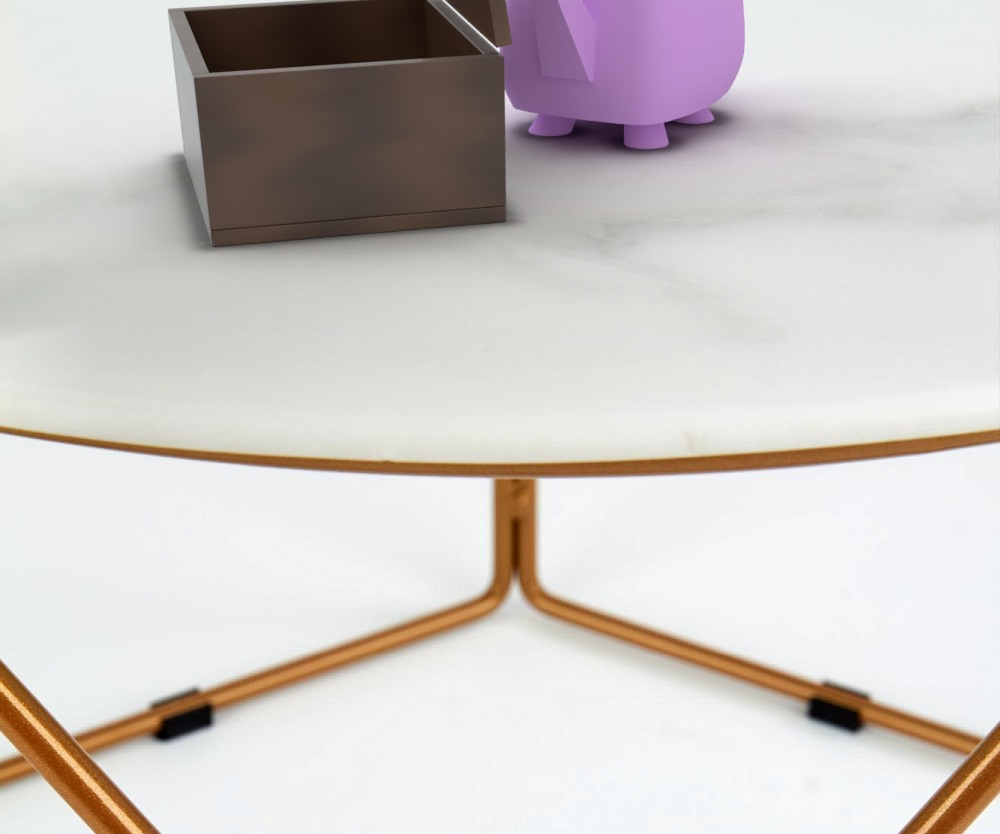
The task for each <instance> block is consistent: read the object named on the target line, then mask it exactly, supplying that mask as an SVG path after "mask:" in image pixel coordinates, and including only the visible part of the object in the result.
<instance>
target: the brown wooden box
mask: <svg viewBox="0 0 1000 834" xmlns="http://www.w3.org/2000/svg"><path fill="white" fill-rule="evenodd" d="M167 17H168V18H167V19H168V25H169V34H170V35H169V36H170V43H171V51H172V60H173V61H172V62H173V69H174V78H175V86H176V95H177V103H178V104H177V105H178V113H179V121H180V131H181V139H182V147H183V157H184V160H185V163H186V166H187V169H188V172H189V176H190V179H191V182H192V185H193V189H194V192H195V195H196V199H197V202H198V205H199V209H200V211H201V215H202V218H203V221H204V225H205V228H206V231H207V234H208V238H209V241H210V244H211V246H212V248H214V247H226V246H239V245H250V244H261V243H273V242H274V243H275V242H284V241H285V242H286V241H297V240H307V239H319V238H320V239H321V238H330V237H331V238H332V237H342V236H343V237H345V236H355V235H367V234H377V233H389V232H391V233H392V232H402V231H413V230H424V229H425V230H427V229H435V228H447V227H448V228H449V227H459V226H461V227H462V226H470V225H481V224H482V225H483V224H494V223H505V222H506V221H507V206H506V205H507V169H506V168H507V163H506V162H507V161H506V156H507V155H506V91H505V71H504V56H503V55H501V54H500V53H499V52H500V51H498V50H497V48H496V47H495V46H494V45H492V44H491V43H490V42H489V41H488V40H487V39H486V38H485V37H484V36H483V35H482V34H481V33H479V32H478V31H477V30H476V29H475V28H474V27H473V26H472V25H471V24H470V23H469V22H468V21H466V20H465V19H464V18H463V17H462V16H461V15H460V14H459V13H458V12H457V11H456V10H455V9H452V7H451V6H450V5H449V4H448V3H447V2H446V1H445V0H290V1H273V2H257V3H255V2H254V3H239V4H224V5H223V4H222V5H207V6H190V7H174V8H173V7H172V8H167Z"/></svg>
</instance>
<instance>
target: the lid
mask: <svg viewBox="0 0 1000 834" xmlns="http://www.w3.org/2000/svg"><path fill="white" fill-rule="evenodd" d="M444 2H445V3H446V4H447V5H448V6H449V7H451V8H453V10H454V11H455V12H456V13H457V14H458V15H459V16H460V17H461V18H463V19H464V20H465V21H466V22H467V23H468V24H469V25H470V26H471V27H472V28H473V29H474V30H476V31H477V32H478V33H479V34H480V35H481V36H482V37H483V38H484V39H485V40H486V41H488V42H489V43H490V44H491V45H492V46H493V47H494V48H495V49H500V47H503V46H507V45H511V44H512V38H511V32H510V25H509V18H508V12H507V5H506V0H444Z"/></svg>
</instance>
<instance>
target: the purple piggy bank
mask: <svg viewBox="0 0 1000 834" xmlns="http://www.w3.org/2000/svg"><path fill="white" fill-rule="evenodd" d="M506 5H507V12H508V18H509V25H510V32H511V38H512V44H511V45H507V46H503V47H499V51H498V52H499V53H500V54H501V55H503V56H504V71H505V95H506V96H507V99H508V100H509V102H510V103H511V107H512V108H513V109H515V110H518V111H522V112H527V113H533V114H537V115H536V117H535V119H534V120H533V121H532V124H531V125H530V127H529V128H528V130H527V131H528V133H530V134H531V135H535V136H541V137H559V136H565V135H568V134H570V133H572V132H573V129H574V126H575V123H576V121H577V120H580V121H590V122H599V123H609V124H615V125H616V124H617V125H623V144H624V146H626V147H628V148H632V149H639V150H656V149H662V148H666V147H667V146H668V145H670V142H669V138H668V134H667V130H666V126H665V123H668V122H671V121H673V122H676V123H679V124H688V125H699V124H707V123H711V122H713V121H715V116H714V115H713V113H712V112H711V110H710V108H709V107H711V106H712V105H714V104H716V103H717V102H718V101H719V100H721V99H722V98H723V97H725V96H726V94H728V92H729V91H730V89H731V88H732V86H733V84H734V83H735V80H736V78H737V77H738V74H739V72H740V69H741V66H742V64H743V61H744V55H745V45H746V43H745V42H746V27H745V26H746V25H745V24H746V23H745V22H746V21H745V9H744V6H745V5H744V0H506Z"/></svg>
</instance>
